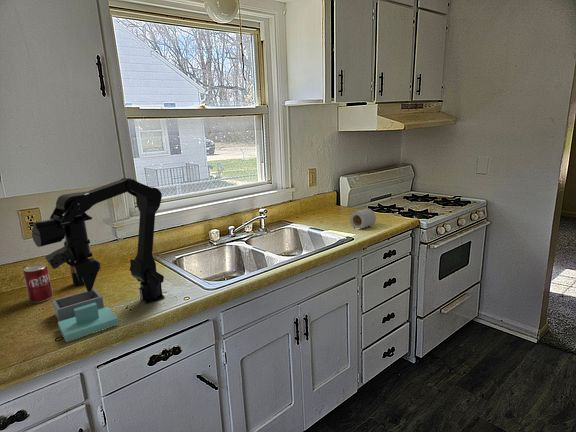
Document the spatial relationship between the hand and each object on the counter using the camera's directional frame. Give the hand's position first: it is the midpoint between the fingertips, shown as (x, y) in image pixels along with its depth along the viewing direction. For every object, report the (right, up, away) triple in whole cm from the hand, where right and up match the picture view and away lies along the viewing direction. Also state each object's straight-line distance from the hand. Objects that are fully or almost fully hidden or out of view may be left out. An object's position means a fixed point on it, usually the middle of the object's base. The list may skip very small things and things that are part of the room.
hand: (85, 286), depth 116 cm
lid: (0, -13, +1) cm, 13 cm away
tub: (-8, -11, +11) cm, 17 cm away
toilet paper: (+103, +15, +98) cm, 143 cm away
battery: (-19, -5, +35) cm, 40 cm away
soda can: (-28, -9, +22) cm, 36 cm away
